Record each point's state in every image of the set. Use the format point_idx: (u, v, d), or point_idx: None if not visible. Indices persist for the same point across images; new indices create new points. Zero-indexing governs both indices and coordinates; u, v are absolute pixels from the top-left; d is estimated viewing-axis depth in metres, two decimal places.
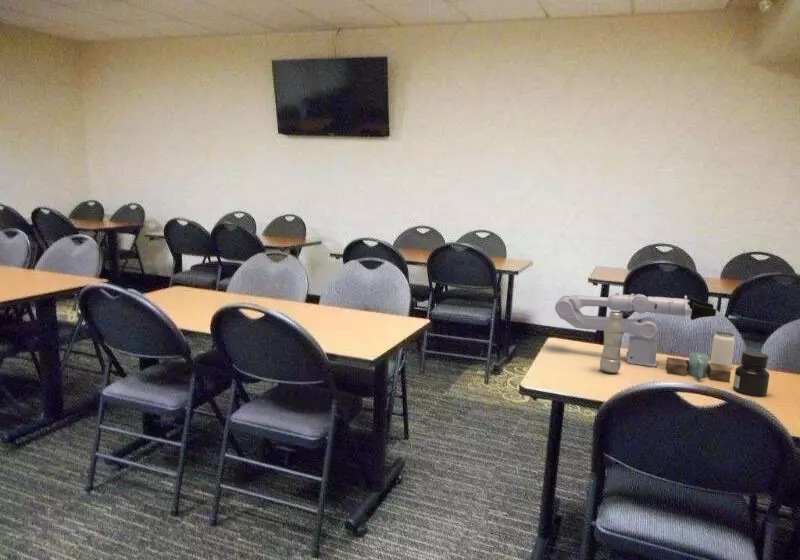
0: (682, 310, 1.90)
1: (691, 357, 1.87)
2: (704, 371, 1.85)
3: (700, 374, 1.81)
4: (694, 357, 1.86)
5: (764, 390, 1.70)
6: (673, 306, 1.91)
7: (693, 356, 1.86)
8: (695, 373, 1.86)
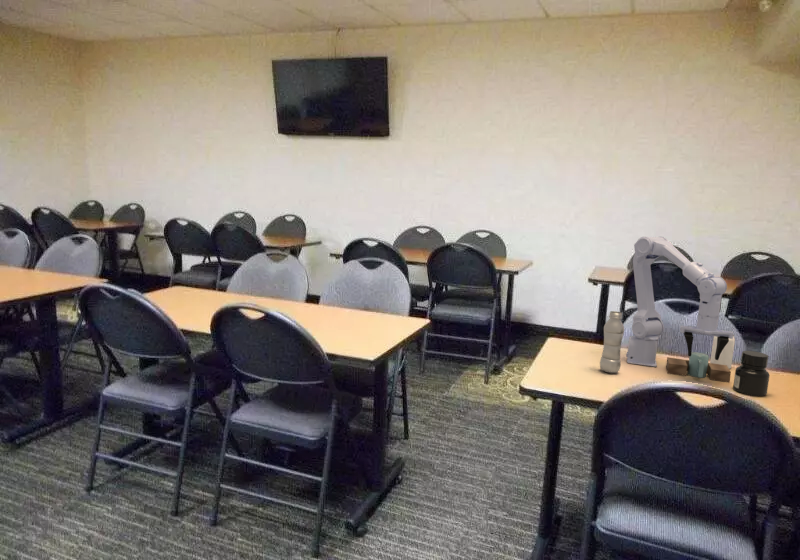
0: None
1: (691, 357, 1.87)
2: (704, 371, 1.85)
3: (700, 374, 1.81)
4: (694, 357, 1.86)
5: (764, 390, 1.70)
6: (698, 318, 1.79)
7: (693, 356, 1.86)
8: (695, 373, 1.86)
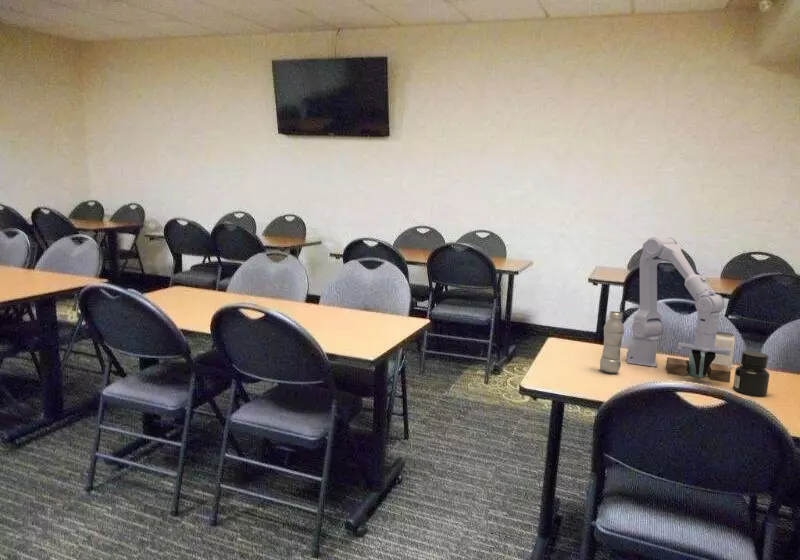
0: (694, 343, 1.81)
1: (691, 357, 1.87)
2: None
3: (700, 374, 1.81)
4: None
5: (764, 390, 1.70)
6: (696, 335, 1.80)
7: None
8: (695, 373, 1.86)
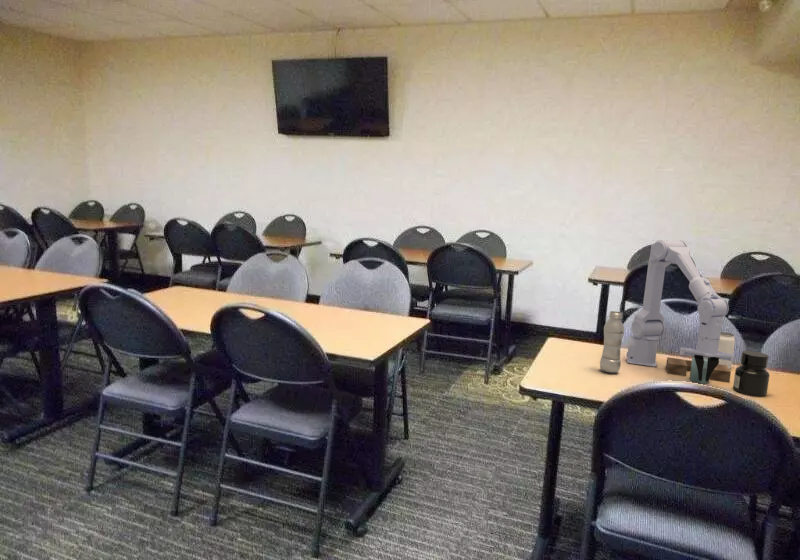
0: (696, 348, 1.75)
1: (693, 362, 1.81)
2: None
3: (703, 380, 1.75)
4: None
5: (764, 390, 1.70)
6: (698, 340, 1.73)
7: (695, 361, 1.80)
8: (697, 378, 1.80)
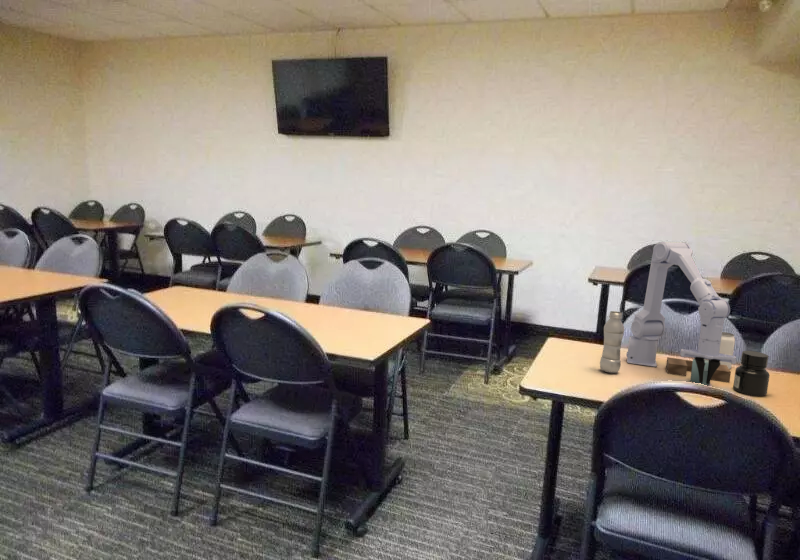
0: (697, 350, 1.73)
1: (694, 364, 1.79)
2: None
3: (704, 382, 1.73)
4: None
5: (764, 390, 1.70)
6: (699, 341, 1.71)
7: None
8: (698, 380, 1.78)
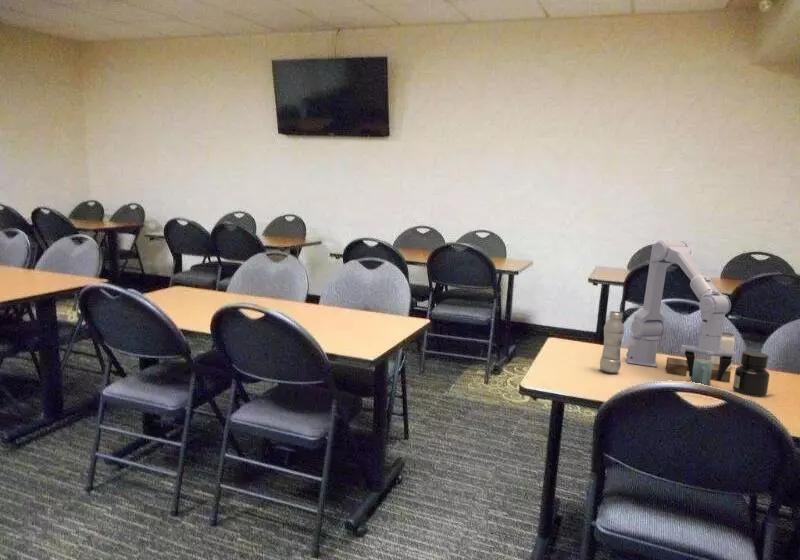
0: (698, 345, 1.73)
1: (694, 364, 1.79)
2: (708, 379, 1.78)
3: (704, 382, 1.73)
4: (697, 364, 1.78)
5: (764, 390, 1.70)
6: (700, 337, 1.71)
7: (696, 363, 1.78)
8: (698, 381, 1.78)
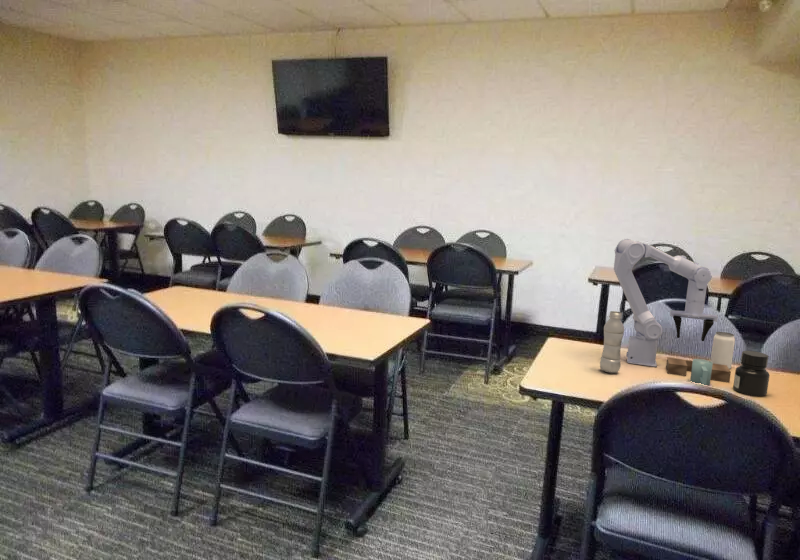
0: None
1: (694, 364, 1.79)
2: (708, 379, 1.78)
3: (704, 382, 1.73)
4: (697, 364, 1.78)
5: (764, 390, 1.70)
6: (686, 303, 1.96)
7: (696, 363, 1.78)
8: (698, 381, 1.78)
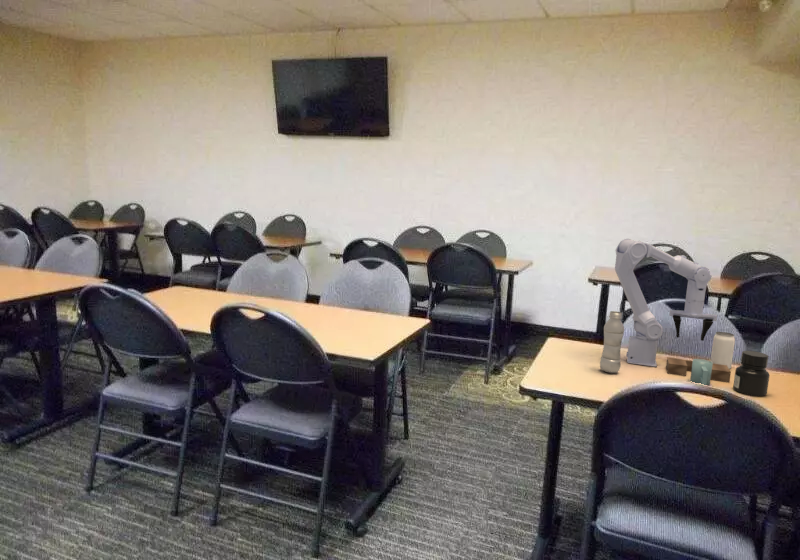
0: (684, 310, 1.99)
1: (694, 364, 1.79)
2: (708, 379, 1.78)
3: (704, 382, 1.73)
4: (697, 364, 1.78)
5: (764, 390, 1.70)
6: (685, 302, 1.97)
7: (696, 363, 1.78)
8: (698, 381, 1.78)
